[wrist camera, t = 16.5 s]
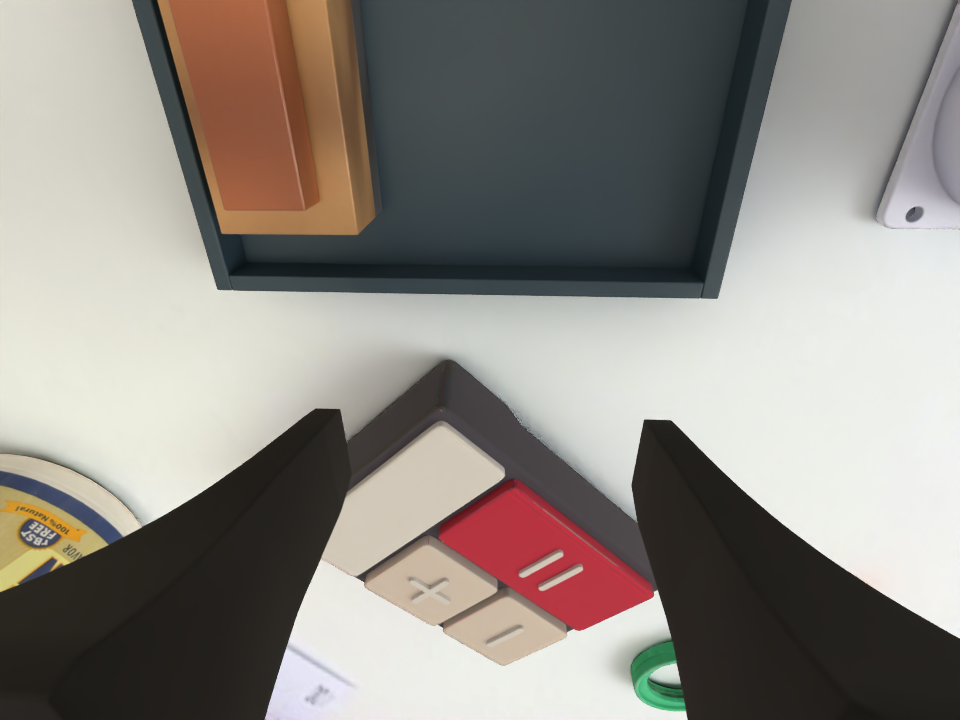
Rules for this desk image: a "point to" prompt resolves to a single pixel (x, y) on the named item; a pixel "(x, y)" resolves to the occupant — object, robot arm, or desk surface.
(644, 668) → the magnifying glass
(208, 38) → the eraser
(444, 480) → the calculator
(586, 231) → the tray
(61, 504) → the supplement tub
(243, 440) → the desk surface
